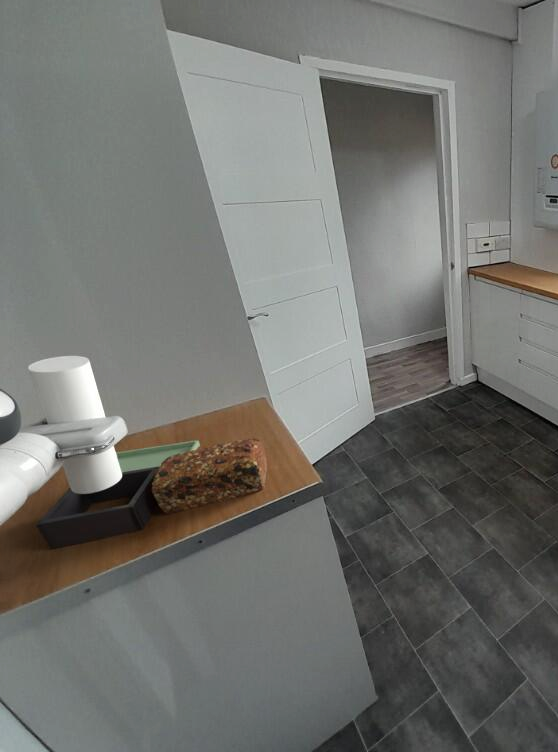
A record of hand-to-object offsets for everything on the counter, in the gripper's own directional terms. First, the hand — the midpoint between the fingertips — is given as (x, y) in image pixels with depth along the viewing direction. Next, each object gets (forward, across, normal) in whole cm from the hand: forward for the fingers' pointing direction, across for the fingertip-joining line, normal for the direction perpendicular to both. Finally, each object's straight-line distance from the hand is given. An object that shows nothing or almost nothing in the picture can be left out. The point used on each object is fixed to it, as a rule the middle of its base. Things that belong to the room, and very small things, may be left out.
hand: (71, 418), depth 75 cm
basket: (-1, 0, +22) cm, 22 cm away
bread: (+1, -18, +22) cm, 29 cm away
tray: (+14, 0, +22) cm, 27 cm away
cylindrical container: (-1, 0, +14) cm, 14 cm away
